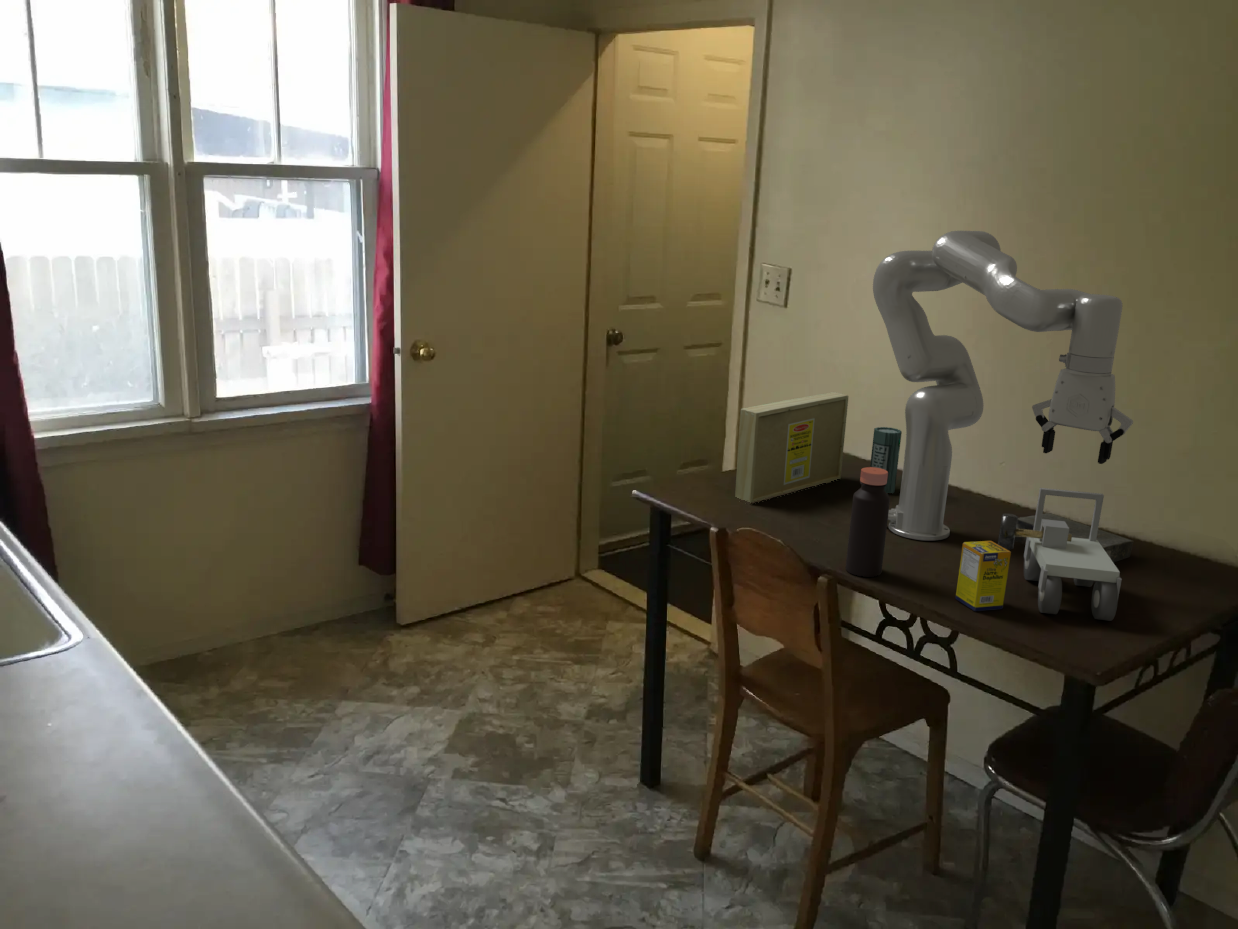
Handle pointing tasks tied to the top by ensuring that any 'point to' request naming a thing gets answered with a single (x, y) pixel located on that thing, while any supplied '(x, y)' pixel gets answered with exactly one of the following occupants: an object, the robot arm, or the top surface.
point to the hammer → (1015, 532)
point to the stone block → (1083, 535)
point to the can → (886, 453)
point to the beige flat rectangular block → (790, 445)
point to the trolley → (1071, 560)
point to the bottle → (868, 524)
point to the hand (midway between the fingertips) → (1074, 457)
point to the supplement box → (982, 575)
